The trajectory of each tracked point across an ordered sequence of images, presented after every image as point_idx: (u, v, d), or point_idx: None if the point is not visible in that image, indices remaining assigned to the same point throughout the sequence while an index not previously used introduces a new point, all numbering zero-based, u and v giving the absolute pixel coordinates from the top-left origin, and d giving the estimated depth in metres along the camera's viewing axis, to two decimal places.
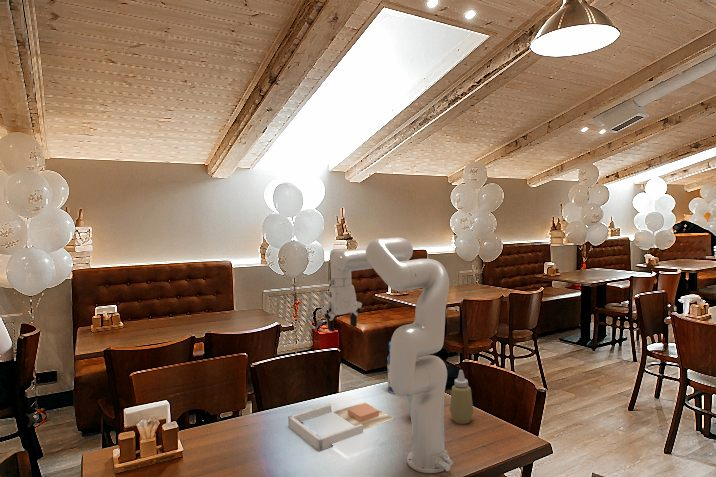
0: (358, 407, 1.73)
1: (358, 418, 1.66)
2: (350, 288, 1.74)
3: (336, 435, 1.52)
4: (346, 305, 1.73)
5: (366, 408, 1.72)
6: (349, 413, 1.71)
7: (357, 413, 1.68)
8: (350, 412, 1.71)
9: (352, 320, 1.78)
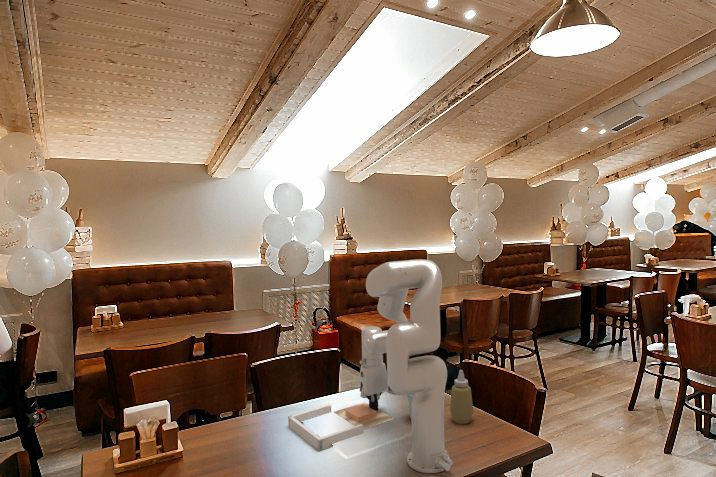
0: (356, 408, 1.73)
1: (356, 419, 1.66)
2: (381, 367, 1.72)
3: (336, 435, 1.52)
4: (378, 385, 1.71)
5: (364, 409, 1.72)
6: (347, 414, 1.71)
7: (354, 413, 1.68)
8: (348, 413, 1.70)
9: None
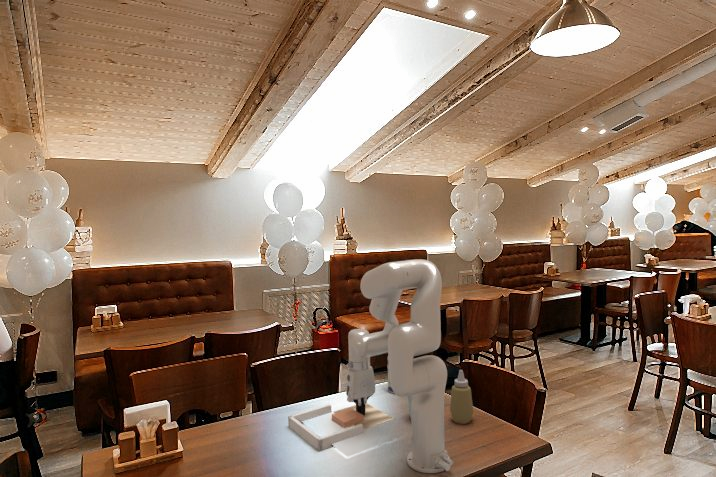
0: (342, 412, 1.69)
1: (342, 424, 1.63)
2: (368, 370, 1.69)
3: (336, 435, 1.52)
4: (365, 388, 1.68)
5: (351, 413, 1.68)
6: (333, 419, 1.67)
7: (340, 418, 1.65)
8: (334, 418, 1.67)
9: None
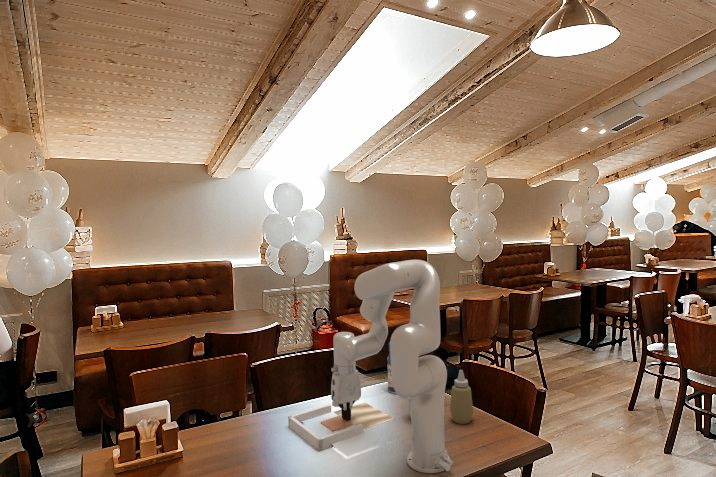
0: (332, 420, 1.67)
1: None
2: (354, 374, 1.65)
3: (336, 435, 1.52)
4: (350, 393, 1.64)
5: (340, 420, 1.66)
6: None
7: (329, 426, 1.62)
8: None
9: None
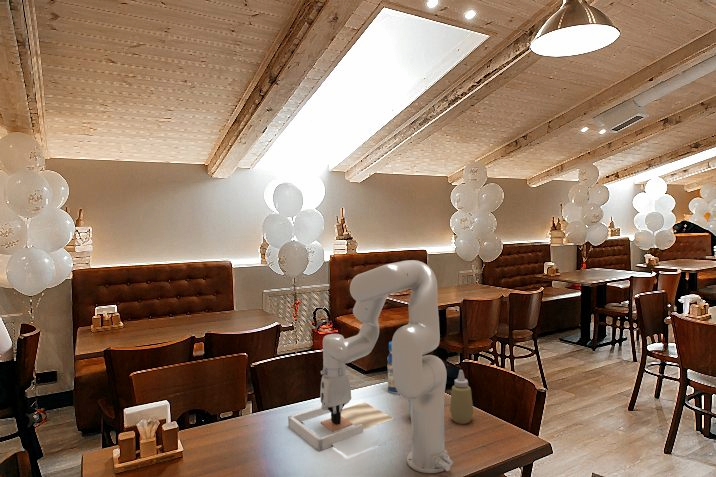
0: None
1: None
2: (344, 377, 1.63)
3: (336, 435, 1.52)
4: (340, 396, 1.62)
5: None
6: None
7: (329, 426, 1.62)
8: None
9: None
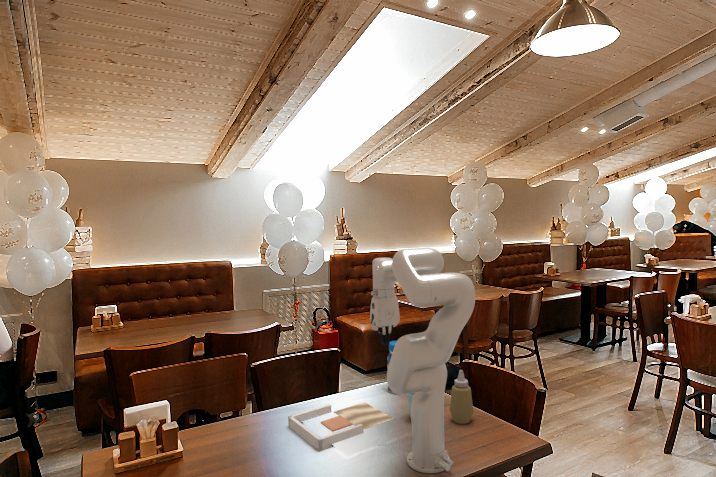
0: (332, 419, 1.67)
1: None
2: (393, 299, 1.66)
3: (336, 435, 1.52)
4: (389, 317, 1.65)
5: (340, 420, 1.66)
6: None
7: (329, 426, 1.62)
8: None
9: None
